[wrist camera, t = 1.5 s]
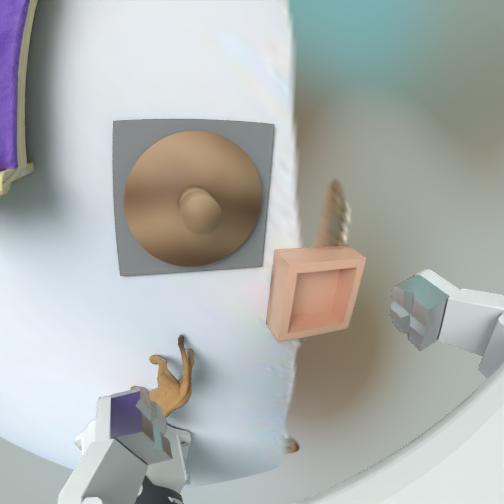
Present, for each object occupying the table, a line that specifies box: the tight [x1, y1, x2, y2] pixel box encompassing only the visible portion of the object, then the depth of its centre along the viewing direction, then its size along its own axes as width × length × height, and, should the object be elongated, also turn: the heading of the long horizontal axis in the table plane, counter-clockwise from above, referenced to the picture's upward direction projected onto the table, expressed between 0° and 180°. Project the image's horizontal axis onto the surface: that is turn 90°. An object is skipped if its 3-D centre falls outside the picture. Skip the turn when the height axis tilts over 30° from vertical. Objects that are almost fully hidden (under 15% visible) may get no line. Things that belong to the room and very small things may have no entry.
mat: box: [113, 119, 274, 276], centre depth 26 cm, size 14×14×1 cm
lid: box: [124, 131, 262, 267], centre depth 24 cm, size 12×12×5 cm
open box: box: [266, 245, 366, 342], centre depth 33 cm, size 9×9×4 cm
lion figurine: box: [131, 335, 194, 418], centre depth 29 cm, size 15×5×9 cm, turn 149°
